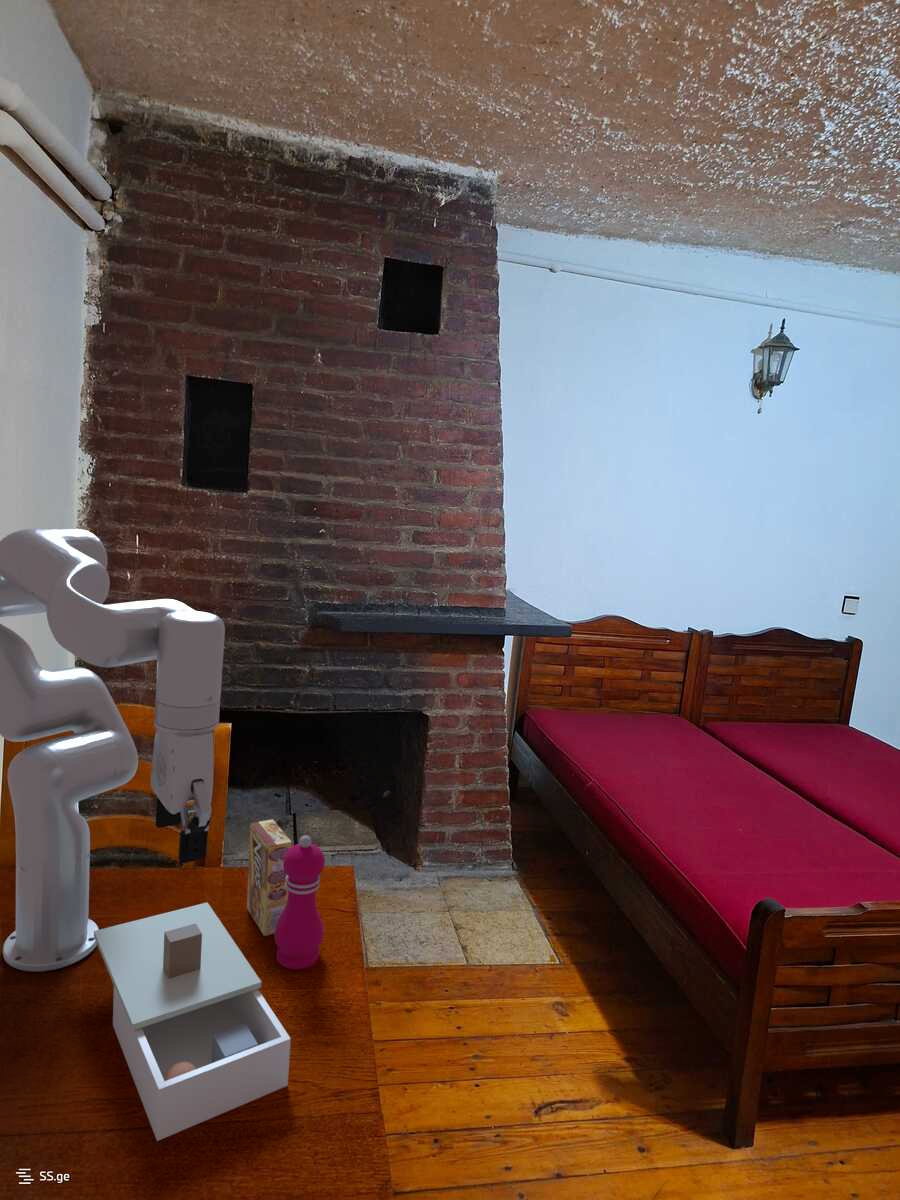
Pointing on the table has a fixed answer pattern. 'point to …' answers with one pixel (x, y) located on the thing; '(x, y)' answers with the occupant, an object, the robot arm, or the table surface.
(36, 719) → the robot arm
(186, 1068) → the coral ball
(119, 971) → the lid
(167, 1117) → the storage box
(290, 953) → the pepper mill
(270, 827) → the candy box
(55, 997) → the table surface
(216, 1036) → the slate block
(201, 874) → the table surface
